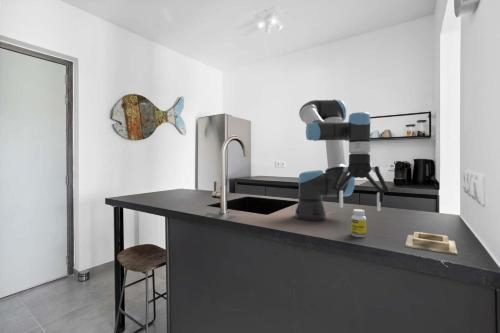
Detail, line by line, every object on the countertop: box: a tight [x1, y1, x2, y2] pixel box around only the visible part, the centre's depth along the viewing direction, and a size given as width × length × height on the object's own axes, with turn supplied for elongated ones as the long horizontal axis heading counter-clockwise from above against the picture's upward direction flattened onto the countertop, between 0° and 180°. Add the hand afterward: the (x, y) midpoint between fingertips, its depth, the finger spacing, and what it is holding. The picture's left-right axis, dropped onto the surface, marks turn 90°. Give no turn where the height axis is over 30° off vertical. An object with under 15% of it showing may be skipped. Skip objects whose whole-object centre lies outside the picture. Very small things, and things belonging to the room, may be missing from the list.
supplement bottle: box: [350, 208, 367, 238], centre depth 103 cm, size 5×5×10 cm
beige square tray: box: [404, 231, 458, 256], centre depth 92 cm, size 14×14×2 cm
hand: (359, 208), depth 103 cm, fingers open, 13 cm apart
